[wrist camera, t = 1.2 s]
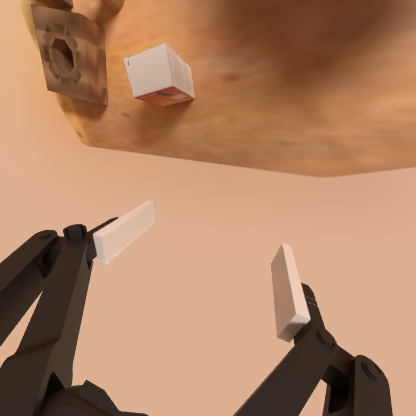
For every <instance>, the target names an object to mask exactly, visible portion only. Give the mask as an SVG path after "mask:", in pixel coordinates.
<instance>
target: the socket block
mask: <svg viewBox="0 0 416 416" xmlns="http://www.w3.org/2000/svg"><path fill="white" fill-rule="evenodd" d="M31 8H32V13H33V18H34V23H35V28H36V33H37V38H38V43H39V48H40V54H41V59H42V64H43V69H44V74H45V79H46V84H47V89H48V90H49V91H53V92H56V93H59V94H63V95H66V96H70V97H73V98H77V99H80V100H84V101H87V102H91V103H97V104H102V105H108V95H107V76H106V56H105V37H104V29H103V28H101V27H100V26H98V25H97V24H95V23H94V22H92V21H91V20H89V19H88V18H86V17H85V16H83V15H82V14H79V13H73V12H68V11H63V10H58V9H53V8H48V7H43V6H37V5H32V4H31Z"/></svg>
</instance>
